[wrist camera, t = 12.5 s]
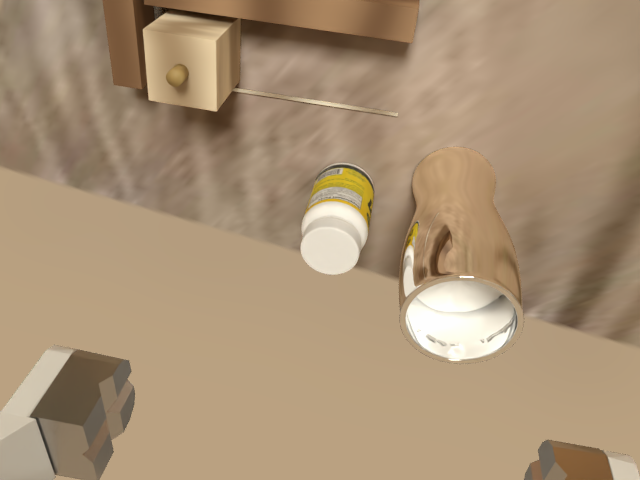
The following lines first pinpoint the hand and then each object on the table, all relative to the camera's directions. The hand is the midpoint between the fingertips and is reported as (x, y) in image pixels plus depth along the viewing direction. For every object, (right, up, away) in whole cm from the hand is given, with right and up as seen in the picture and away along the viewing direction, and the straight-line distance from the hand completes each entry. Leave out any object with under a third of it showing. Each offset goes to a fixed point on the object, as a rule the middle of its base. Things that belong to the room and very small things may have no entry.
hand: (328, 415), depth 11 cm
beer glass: (+10, +8, +32) cm, 34 cm away
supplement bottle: (+2, +8, +33) cm, 34 cm away
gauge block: (-8, +17, +28) cm, 34 cm away
